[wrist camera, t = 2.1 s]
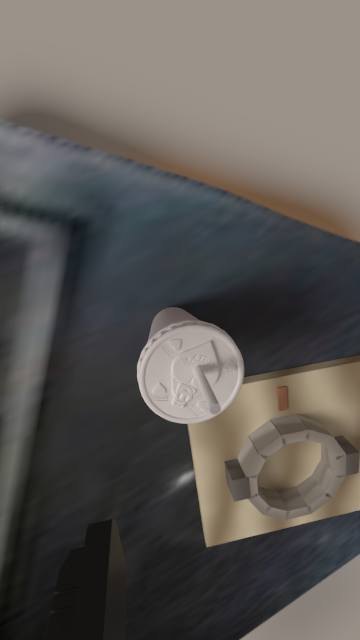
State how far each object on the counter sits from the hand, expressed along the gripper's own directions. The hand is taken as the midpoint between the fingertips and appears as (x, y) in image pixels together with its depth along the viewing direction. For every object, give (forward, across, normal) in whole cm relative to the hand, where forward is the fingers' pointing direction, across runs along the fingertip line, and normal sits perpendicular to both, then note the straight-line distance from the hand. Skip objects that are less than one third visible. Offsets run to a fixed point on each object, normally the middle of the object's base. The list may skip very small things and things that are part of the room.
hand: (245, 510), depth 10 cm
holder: (+19, -9, +15) cm, 26 cm away
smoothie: (+19, 0, 0) cm, 19 cm away
